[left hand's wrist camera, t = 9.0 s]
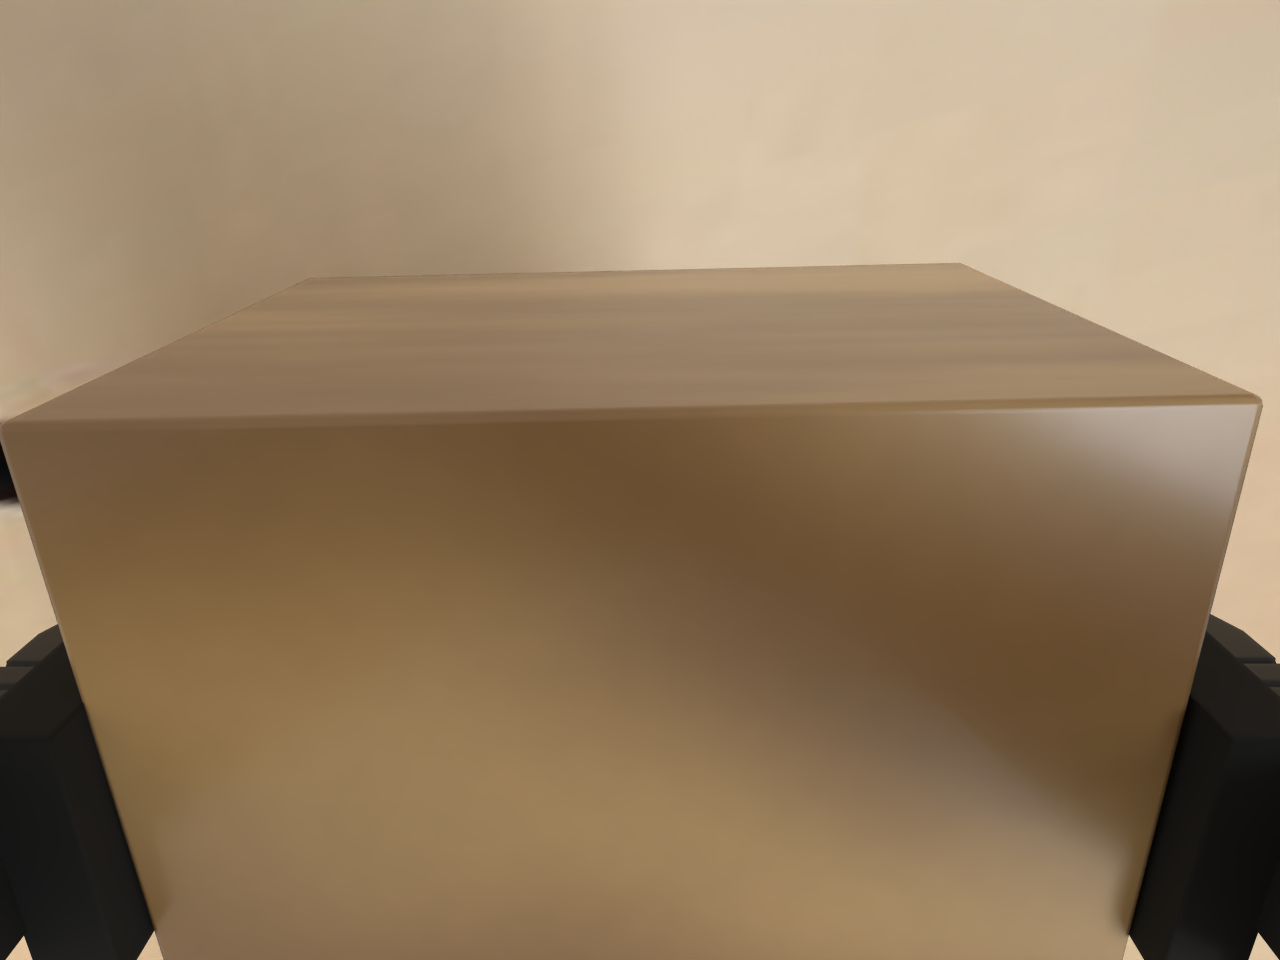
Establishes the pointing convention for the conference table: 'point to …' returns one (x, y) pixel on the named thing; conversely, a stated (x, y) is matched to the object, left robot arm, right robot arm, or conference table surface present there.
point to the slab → (639, 614)
